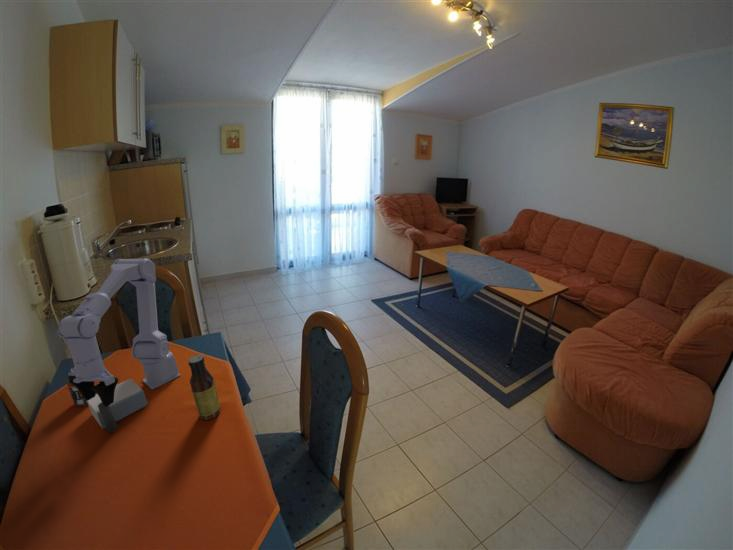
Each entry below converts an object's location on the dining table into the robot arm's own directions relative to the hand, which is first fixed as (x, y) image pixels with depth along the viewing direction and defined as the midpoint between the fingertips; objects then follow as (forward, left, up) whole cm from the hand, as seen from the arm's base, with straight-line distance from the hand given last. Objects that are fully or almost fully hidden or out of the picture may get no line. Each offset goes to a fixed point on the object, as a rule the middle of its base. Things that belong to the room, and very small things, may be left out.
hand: (99, 401), depth 93 cm
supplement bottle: (0, -22, -11) cm, 24 cm away
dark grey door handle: (-5, -1, -11) cm, 12 cm away
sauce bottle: (-21, +16, -11) cm, 29 cm away
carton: (-5, -8, -11) cm, 15 cm away
